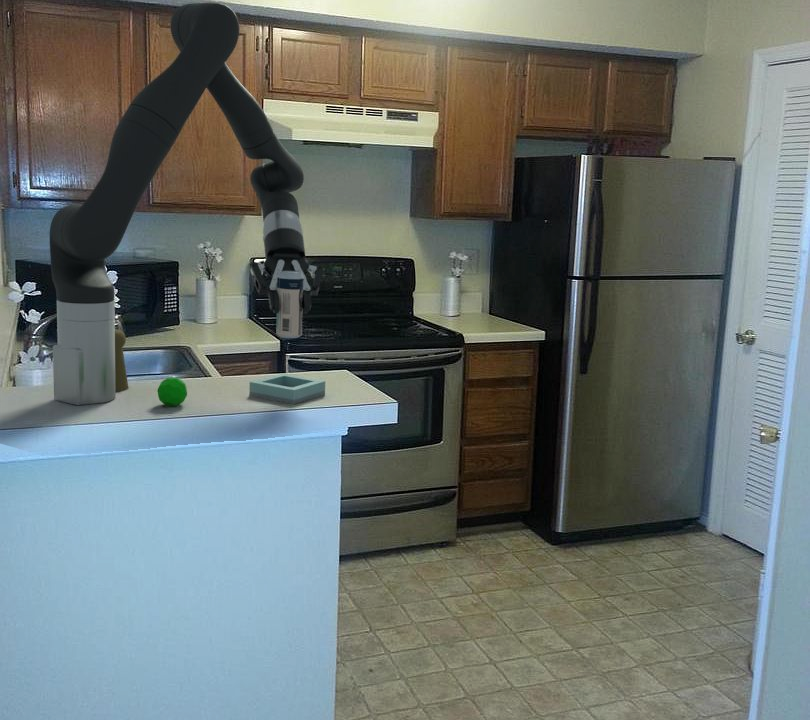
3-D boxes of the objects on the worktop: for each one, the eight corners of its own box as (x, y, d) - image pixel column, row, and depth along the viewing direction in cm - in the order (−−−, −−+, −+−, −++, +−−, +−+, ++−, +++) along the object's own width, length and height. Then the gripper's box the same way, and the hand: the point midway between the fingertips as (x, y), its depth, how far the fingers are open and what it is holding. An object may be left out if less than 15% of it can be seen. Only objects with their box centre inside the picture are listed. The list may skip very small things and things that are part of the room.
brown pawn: (134, 385, 156) (133, 328, 154) (120, 393, 150) (119, 333, 148) (103, 383, 156) (102, 325, 154) (87, 390, 150) (86, 330, 148)
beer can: (306, 338, 153) (308, 273, 151) (283, 339, 150) (285, 273, 148) (293, 334, 157) (295, 270, 154) (271, 335, 154) (272, 270, 151)
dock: (293, 404, 149) (294, 390, 148) (249, 395, 153) (249, 381, 153) (324, 394, 157) (325, 381, 157) (282, 386, 162) (282, 373, 161)
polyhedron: (152, 407, 141) (152, 380, 141) (164, 400, 146) (164, 374, 145) (181, 409, 141) (181, 382, 140) (191, 403, 146) (191, 376, 145)
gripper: (247, 224, 154) (253, 297, 145) (323, 228, 159) (333, 299, 150) (244, 251, 160) (249, 322, 151) (317, 253, 165) (327, 323, 156)
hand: (291, 310), depth 151 cm, fingers closed on beer can, 4 cm apart
